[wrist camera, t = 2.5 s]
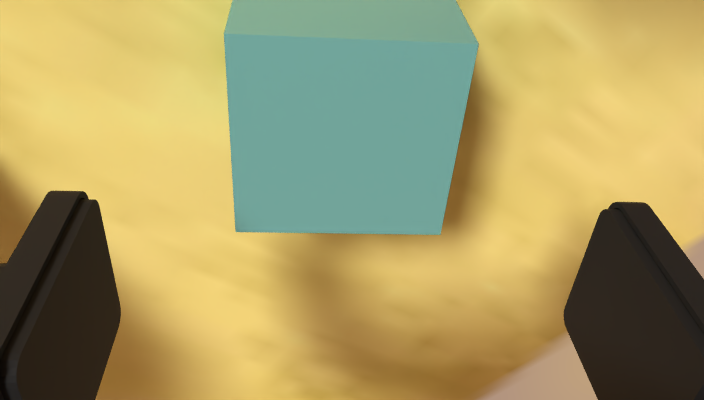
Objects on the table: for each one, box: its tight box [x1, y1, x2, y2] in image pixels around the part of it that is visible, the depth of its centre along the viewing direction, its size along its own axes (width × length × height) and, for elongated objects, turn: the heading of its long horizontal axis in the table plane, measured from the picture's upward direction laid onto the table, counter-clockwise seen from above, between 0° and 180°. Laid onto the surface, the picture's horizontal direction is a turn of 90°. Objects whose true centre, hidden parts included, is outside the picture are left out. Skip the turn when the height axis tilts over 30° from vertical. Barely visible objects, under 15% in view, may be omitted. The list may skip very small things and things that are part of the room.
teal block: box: [224, 0, 479, 235], centre depth 16 cm, size 5×5×5 cm
